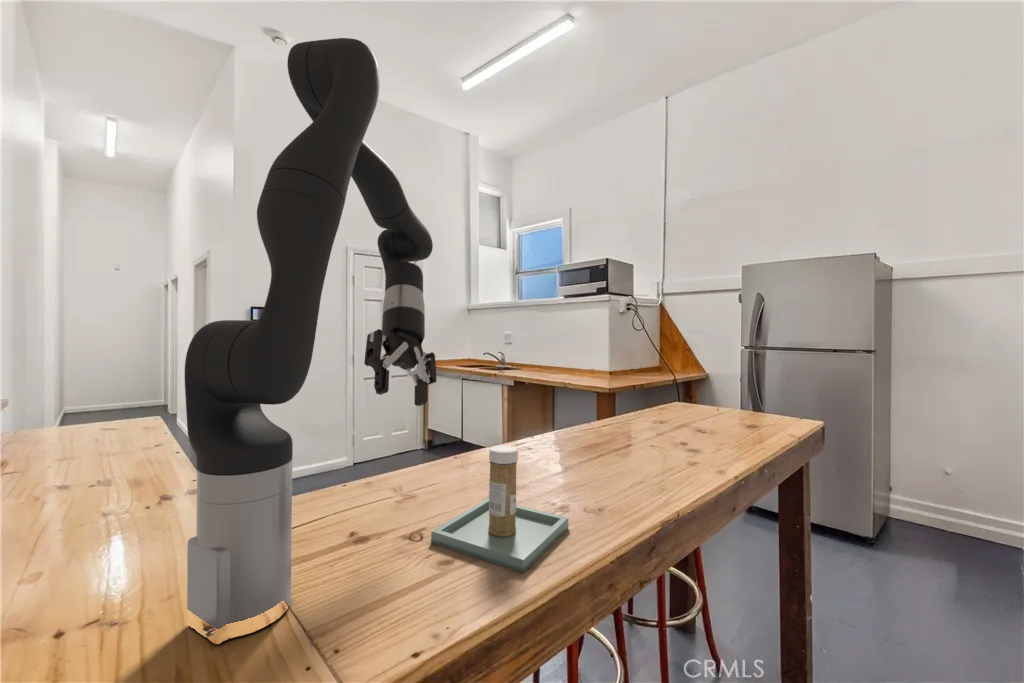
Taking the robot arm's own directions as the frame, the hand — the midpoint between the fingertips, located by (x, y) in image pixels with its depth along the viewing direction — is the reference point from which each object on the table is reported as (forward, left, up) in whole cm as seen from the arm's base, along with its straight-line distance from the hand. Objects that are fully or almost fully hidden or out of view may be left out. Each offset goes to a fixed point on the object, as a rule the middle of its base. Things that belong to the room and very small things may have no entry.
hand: (402, 399), depth 74 cm
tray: (+5, -17, -21) cm, 27 cm away
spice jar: (+5, -17, -21) cm, 27 cm away
